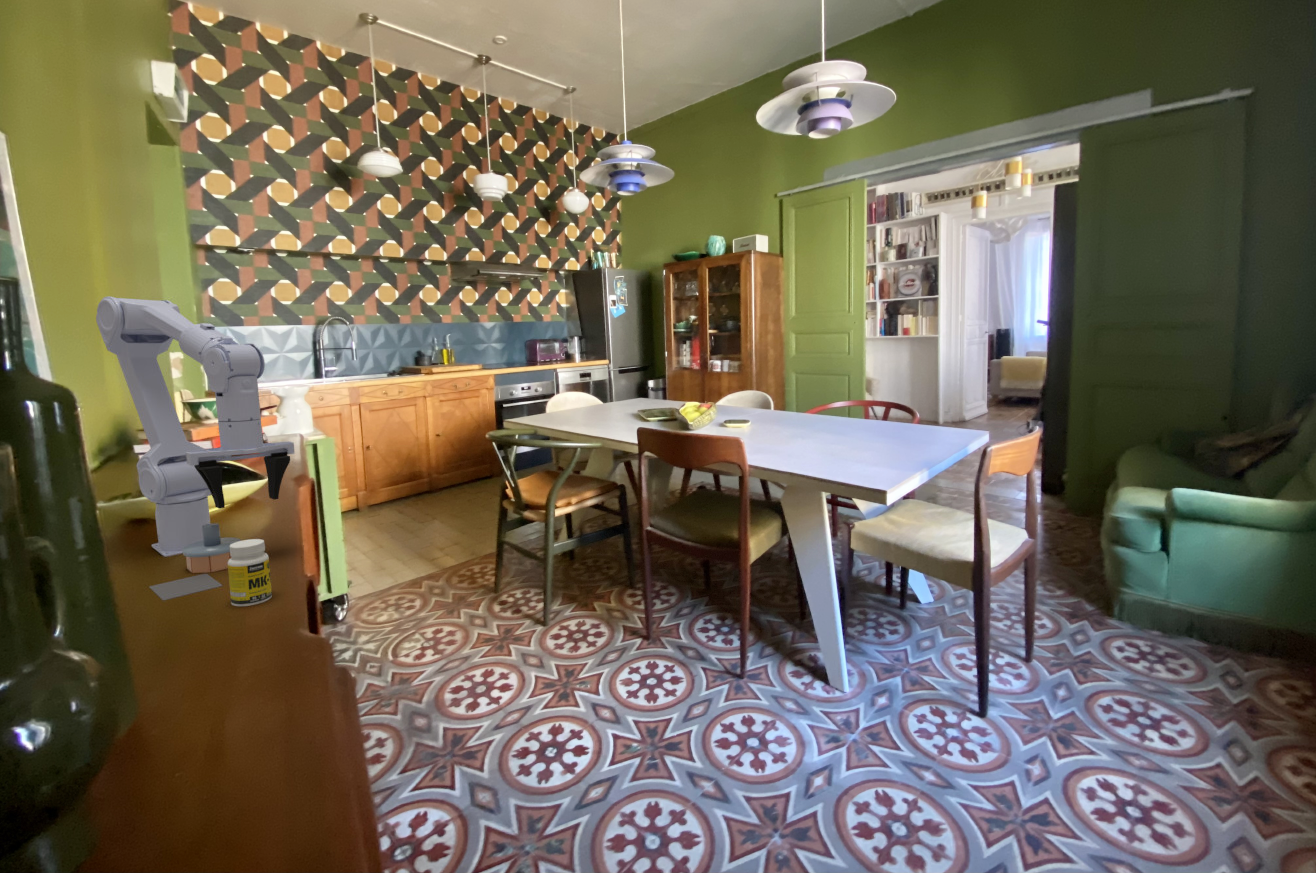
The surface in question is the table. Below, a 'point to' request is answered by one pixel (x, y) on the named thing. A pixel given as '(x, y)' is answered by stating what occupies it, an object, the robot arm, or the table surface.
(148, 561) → the table surface
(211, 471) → the robot arm
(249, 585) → the supplement bottle
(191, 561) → the bowl
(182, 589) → the mat
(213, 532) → the lid
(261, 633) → the table surface
